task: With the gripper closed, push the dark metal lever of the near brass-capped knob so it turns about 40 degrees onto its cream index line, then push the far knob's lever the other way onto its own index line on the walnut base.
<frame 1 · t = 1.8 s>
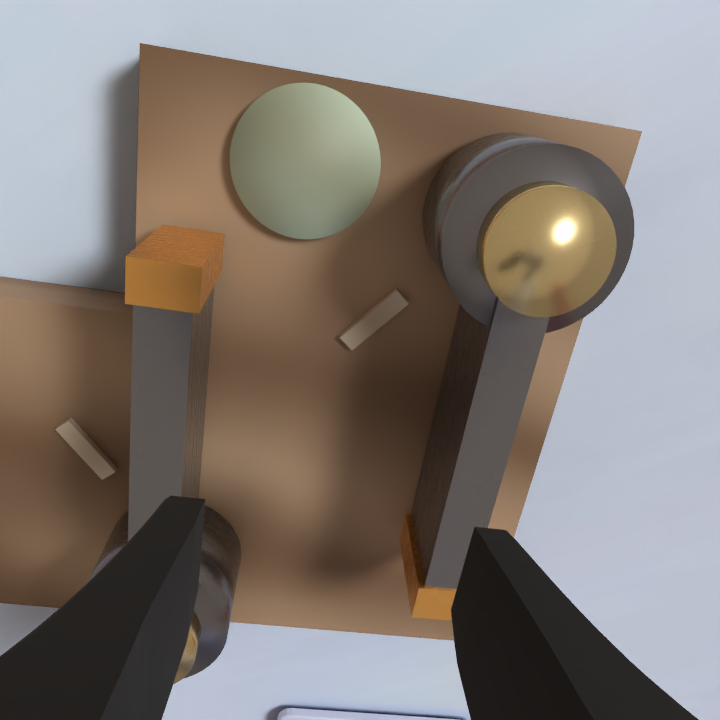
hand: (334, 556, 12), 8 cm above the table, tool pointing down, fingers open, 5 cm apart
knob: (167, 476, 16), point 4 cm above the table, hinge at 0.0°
walnut base: (345, 384, 20), on the table
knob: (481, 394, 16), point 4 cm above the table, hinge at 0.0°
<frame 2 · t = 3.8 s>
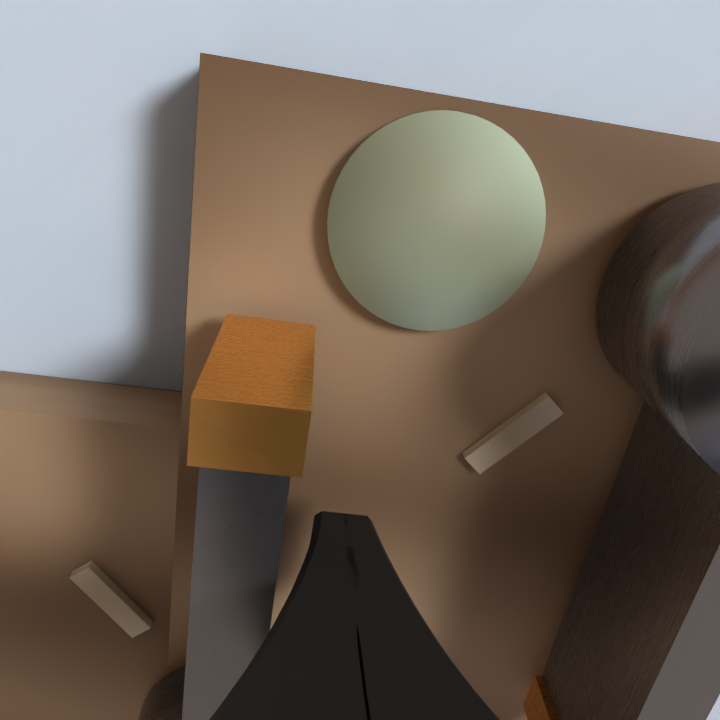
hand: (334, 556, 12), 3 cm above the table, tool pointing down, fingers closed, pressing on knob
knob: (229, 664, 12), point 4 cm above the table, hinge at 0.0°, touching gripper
walnut base: (451, 500, 15), on the table
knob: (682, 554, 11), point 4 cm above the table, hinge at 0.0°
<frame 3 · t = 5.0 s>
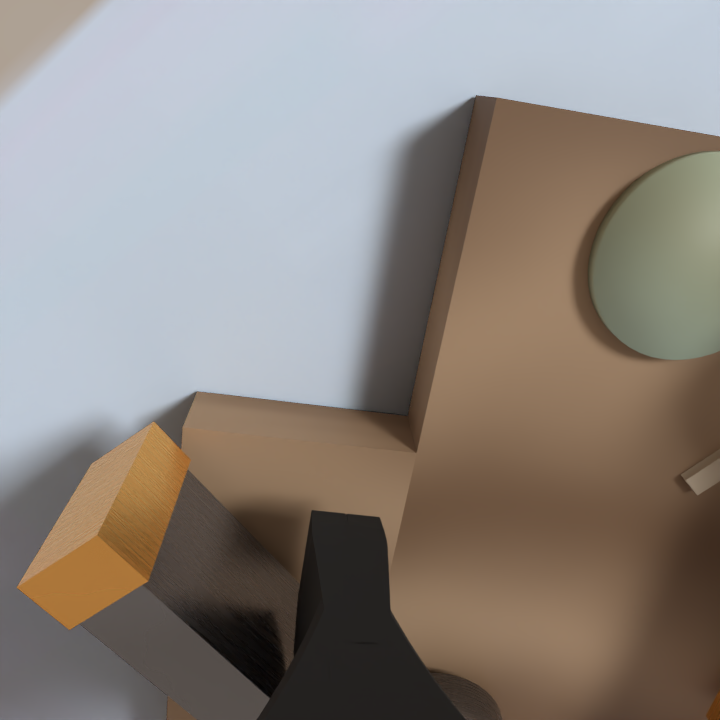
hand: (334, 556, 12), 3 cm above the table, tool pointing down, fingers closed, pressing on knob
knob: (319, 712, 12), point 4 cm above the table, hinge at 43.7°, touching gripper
walnut base: (637, 517, 15), on the table
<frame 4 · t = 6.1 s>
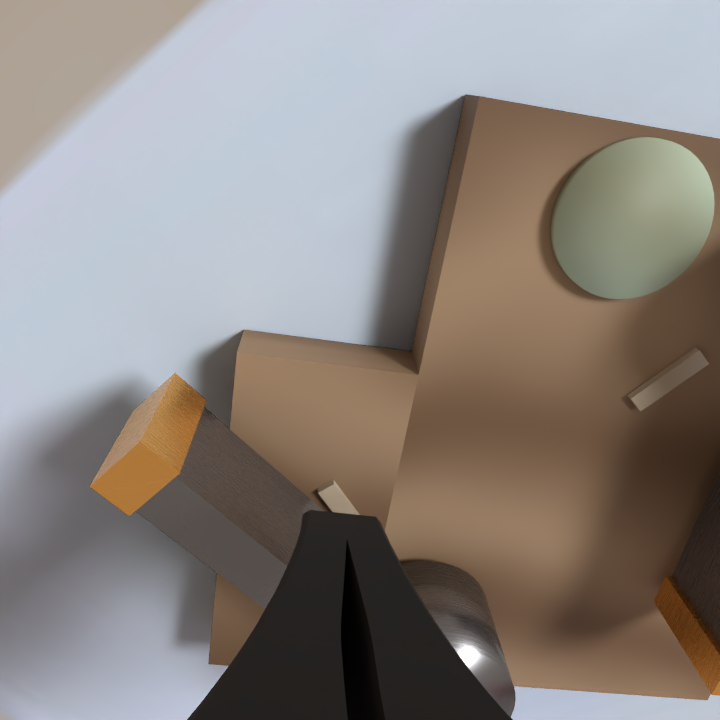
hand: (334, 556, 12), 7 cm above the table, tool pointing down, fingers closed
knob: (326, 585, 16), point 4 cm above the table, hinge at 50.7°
walnut base: (598, 439, 19), on the table
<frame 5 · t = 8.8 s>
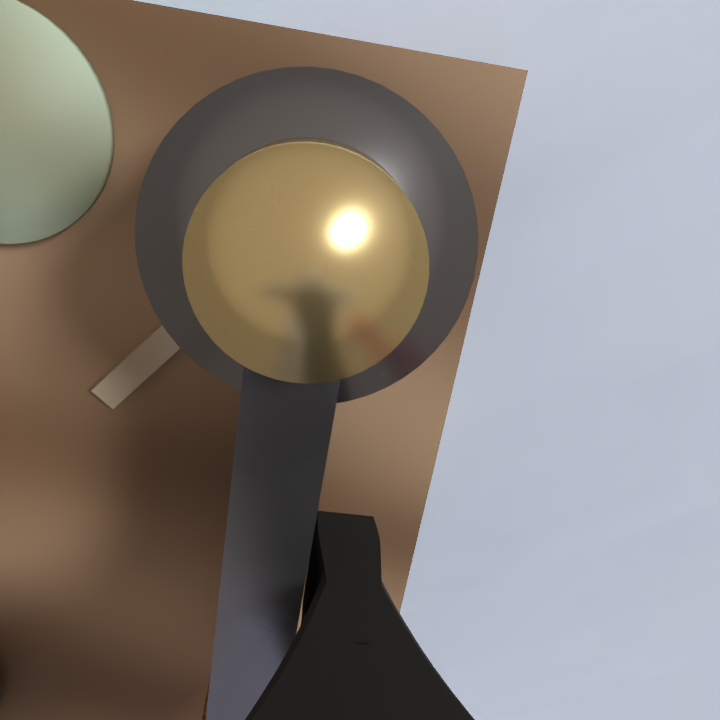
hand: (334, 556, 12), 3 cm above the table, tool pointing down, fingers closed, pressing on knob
walnut base: (143, 447, 14), on the table
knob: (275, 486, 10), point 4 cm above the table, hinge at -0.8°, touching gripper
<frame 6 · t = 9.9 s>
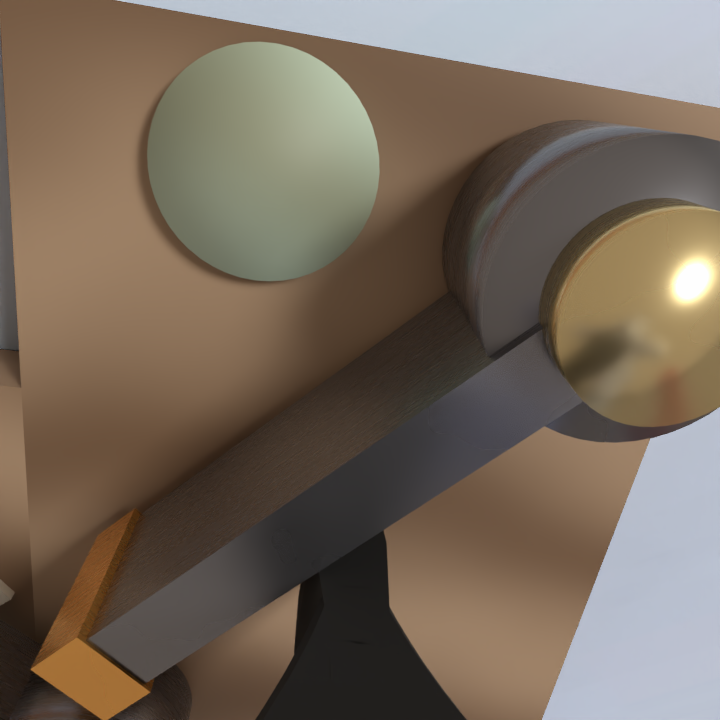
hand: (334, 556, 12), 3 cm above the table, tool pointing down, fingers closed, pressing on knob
walnut base: (332, 469, 14), on the table
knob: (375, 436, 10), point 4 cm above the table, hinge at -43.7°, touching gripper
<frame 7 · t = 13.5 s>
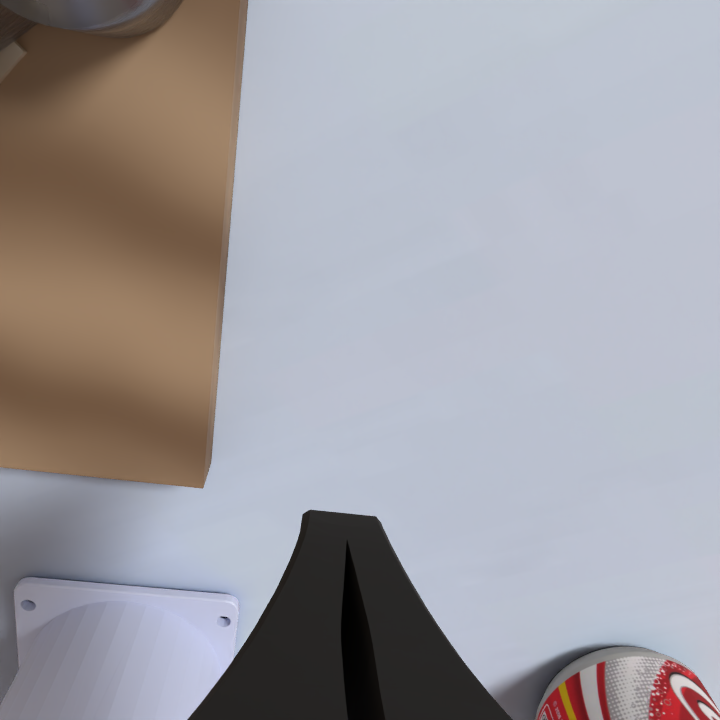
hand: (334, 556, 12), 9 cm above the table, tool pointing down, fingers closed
walnut base: (13, 180, 18), on the table
soda can: (607, 690, 27), on the table
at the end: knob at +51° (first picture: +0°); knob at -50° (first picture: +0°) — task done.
